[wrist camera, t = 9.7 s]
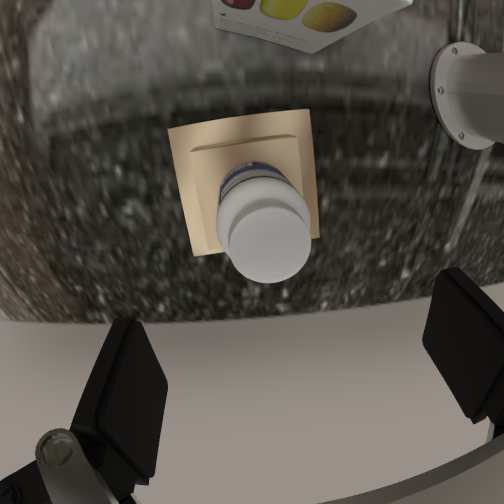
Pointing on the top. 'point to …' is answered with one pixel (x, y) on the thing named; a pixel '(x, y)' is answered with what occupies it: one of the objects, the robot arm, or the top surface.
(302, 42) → the supplement box
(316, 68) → the top surface
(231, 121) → the plinth
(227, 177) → the pill bottle
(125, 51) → the top surface
